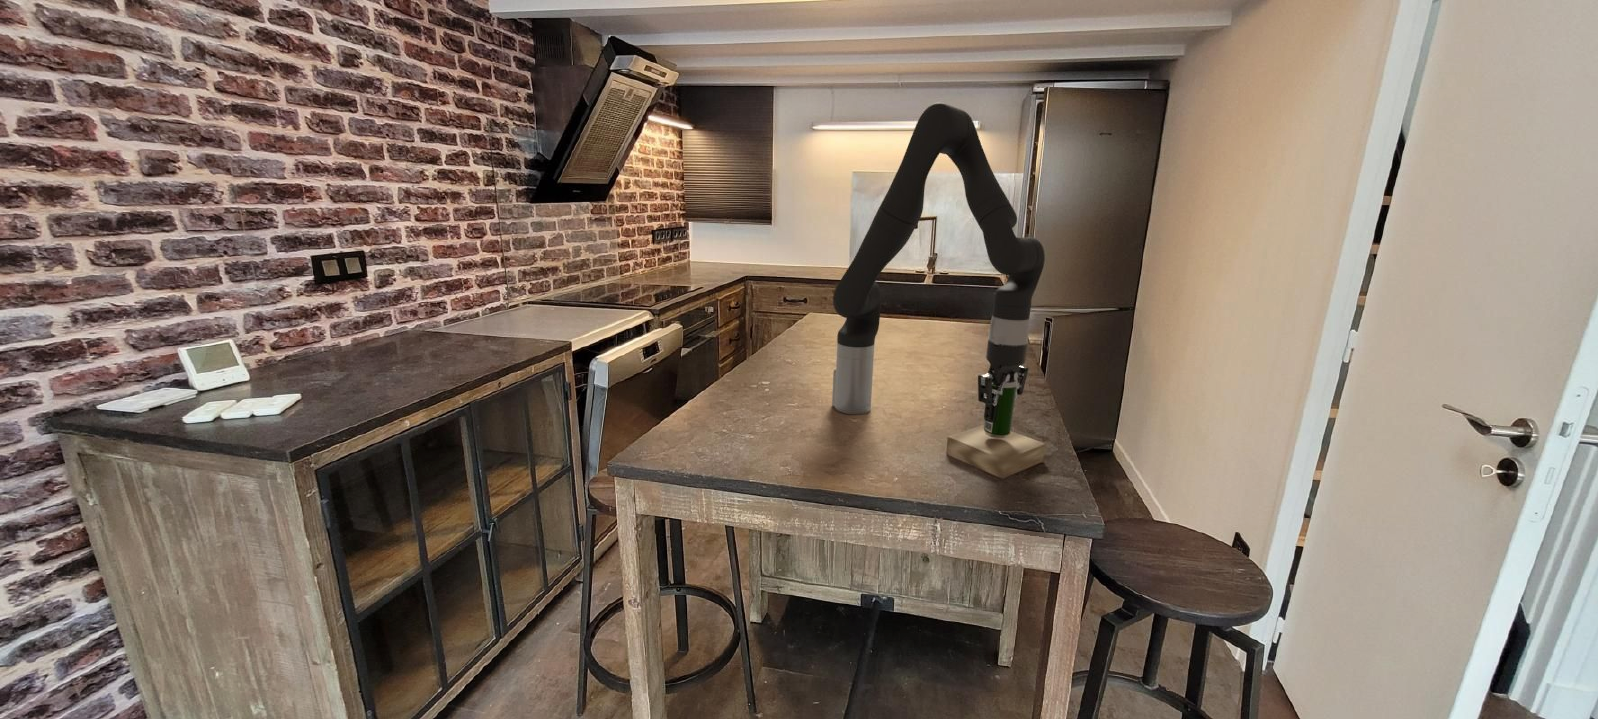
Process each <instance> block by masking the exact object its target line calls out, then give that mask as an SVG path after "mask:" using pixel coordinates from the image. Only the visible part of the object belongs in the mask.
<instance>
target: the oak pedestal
mask: <svg viewBox="0 0 1598 719" xmlns="http://www.w3.org/2000/svg"><path fill="white" fill-rule="evenodd" d="M946 442H947V443H946V451H945V454H946V455H948V456H950V457H952V458H954V459H956V460H958V461H961V462H963V463H966V464H969V465H970V466H972V467H975V468H977V469H978V470H982V471H983V472H986V473H988V474H991V475H993V476H995V477H996V478H1000V479H1005V478H1008V477H1010V476H1013V475H1014V474H1017V473H1020V472H1022V471H1024V470H1026V469H1029V468H1031V467H1034V466H1036V465H1038V464H1040V463H1043V462H1044V457H1045V450H1046V443H1044V442H1042V441H1039V440H1036V439H1033V438H1031V437H1028V436H1026V435H1023V434H1020V433H1018V432H1015V431H1012V430H1011V433H1010V434H1009V436H1008V437H1007V438H994V437H990V436H988V435H986V434H985V431H984V424H982V425H978V426H975V427H972V428H970V429H969V428H968V429H966V430H964V431H960V432H957V433H955V434H952V435H948V436H947V441H946Z"/></svg>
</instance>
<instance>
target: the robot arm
mask: <svg viewBox="0 0 1598 719" xmlns="http://www.w3.org/2000/svg"><path fill="white" fill-rule="evenodd" d="M939 154H943V155H946V156H948V158H949V159H950V160H951V161H952V163H953V164H954V166H955V167H956V168H957V169H958V172H959V173H960V175H961V177H962V182H963V187H964V194H965V197H966V198H965V199H966V202H967V205H968V207H969V210H970V212H971V214H972V215H973V217H974V219H975V221H976V223H977V225H978V226H979V228H980V230H981V231H982V236H983V240H984V241H983V242H984V245H985V249H986V253H987V256H988V259H989V262H990V263H991V265H992V266H993V268H994V269H995V271H997V272H998V273H1000V274H1002V275H1003V276H1007V280H1006V282H1005V283H1004V284H1003V285H1002V286H1000V287H998V288H997V289H996V291H995V292H994V296H993V306H992V313H991V320H990V324H989V329H988V338H987V346H986V356H985V359H986V361H988V362H989V368H988V370H987V373H986V374H978V376H977V393H978V394H977V395H978V402H980V403H983V404H985V405H984V406H985V407H984V414H983V418H984V422H985V421H988V422H990V423H993V422H995V419H996V411H997V402H998V399H999V396H1001V395H1003V388H1004V386H1005V383H1006V382H1008V381H1009V380H1013V382H1014V381H1015V380H1016V385H1017V387H1016V395H1015V401H1016V400H1017V398H1018V396H1022V395H1023V393H1024V389H1025V384H1026V380H1027V376H1028V373H1029V367H1027V366H1024V364H1025V363H1026V359H1027V358H1026V357H1027V350H1028V342H1029V335H1030V334H1029V333H1030V315H1031V310H1032V299H1033V296H1034V293H1035V291H1036V289H1037V286H1038V283H1039V281H1040V278H1041V275H1042V273H1043V269H1044V265H1045V258H1046V255H1045V249H1044V247H1043V244H1042V242H1040V241H1039V240H1038V239H1037V238H1035V237H1029V236H1026V237H1017V235H1016V234H1015V233H1014V230H1013V228H1015V226H1016V224H1017V222H1018V216H1017V213H1016V211H1015V209H1014V208H1013V206H1012V204H1011V202H1010V201H1009V199H1008V197H1007V195H1006V194H1005V192H1004V191H1003V189H1002V187H1001V185H1000V183H999V181H998V180H997V178H996V176H995V174H994V171H993V170H992V169H993V168H991V165H990V163H989V160H988V158H987V156H986V153H985V151H984V149H983V146H982V142H981V140H980V137H979V134H978V131H977V128H976V126H975V123H974V121H973V119H972V117H971V116H970V114H969V113H968V112H966V111H965V110H964V109H961V108H958V107H956V106H952V105H950V104H947V103H945V102H935V103H932V104H931V105H929V106H928V107H926V108H925V110H924V111H923V112H922V113H921V115H920V117H919V118H918V120H917V122H916V125H915V127H914V129H913V132H912V135H911V137H910V139H909V141H908V146H907V147H906V150H905V153H904V155H903V157H902V160H901V163H900V165H899V167H898V169H897V171H896V173H895V175H894V178H893V180H892V182H891V183H890V186H889V188H888V190H887V192H886V194H885V195H884V198H883V200H882V201H881V203H880V206H879V208H878V209H877V212H876V213H875V215H874V218H873V220H872V222H871V224H870V226H869V228H868V230H867V232H866V234H865V236H864V238H863V240H862V242H861V244H860V245H859V248H858V250H857V252H856V254H855V255H854V258H853V260H852V262H851V263H850V264H849V266H848V268H847V269H846V271H845V272H844V274H843V275H842V277H841V279H840V280H839V281H838V283H837V285H836V287H835V289H834V292H833V296H832V304H833V308H834V310H835V312H836V313H837V315H839V316H840V317H843V318H845V322H844V323H843V325H842V326H841V327H840V329H839V330H838V332H837V336H836V337H837V339H836V362H835V363H836V364H835V365H836V366H835V369H834V370H833V372H832V373H833V375H832V376H833V377H832V378H833V379H832V380H833V381H832V399H831V406H833V407H834V409H835V410H836V411H837V412H840V413H843V414H847V415H863V414H866V413H869V412H871V409H872V394H873V376H874V375H873V374H874V362H875V360H874V359H875V358H874V357H875V341H876V337H877V334H878V331H879V328H880V319H881V311H882V310H881V309H882V292H881V289H880V286H879V284H878V283H877V282H876V281H877V279H878V277H879V275H880V274H881V273H882V271H883V270H884V269H885V268H886V266H887V265H888V264H889V263H890V262H891V261H892V260H893V259H894V258H896V256H897V255H898V254H899V252H900V251H902V249H903V248H904V247H905V245H906V244H907V243H908V241H909V240H910V238H911V237H912V234H913V233H914V231H915V229H916V227H917V225H918V223H919V221H920V219H921V217H922V214H923V210H924V202H925V189H926V181H927V178H928V176H929V173H930V171H931V169H932V167H933V166H934V164H935V162H936V160H937V158H938V157H939ZM992 385H995V386H1000V387H999V389H998V390H994V389H992ZM992 393H994V394H995V395H994V398H993V399H992Z"/></svg>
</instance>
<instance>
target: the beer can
mask: <svg viewBox="0 0 1598 719" xmlns="http://www.w3.org/2000/svg"><path fill="white" fill-rule="evenodd" d="M999 387H1000V386H995V385H992V389H994V390H998V389H999ZM1016 387H1017V385H1016V380H1015V381H1014V382H1013V380H1009V381H1008V382H1006V383H1005V386H1004V388H1003V395H1001V396H999V399H998V402H997V411H996V419H995V422H993V423H990V422H988V421H985V420H984V422H983V425H984V431H985V434H986V435H988V436H990V437H994V438H1007V437H1008V436H1009V434H1010V433H1011V431H1012V424H1013V419H1014V408H1015V402H1016V400H1015V395H1016ZM994 395H995V394H994V393H992V399H993V398H994Z"/></svg>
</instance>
